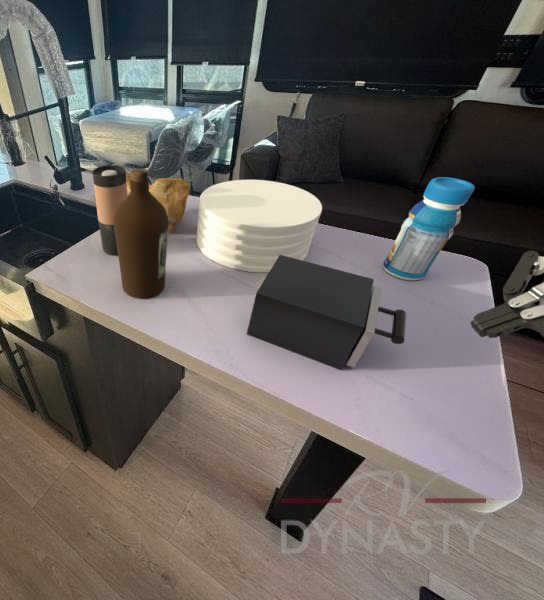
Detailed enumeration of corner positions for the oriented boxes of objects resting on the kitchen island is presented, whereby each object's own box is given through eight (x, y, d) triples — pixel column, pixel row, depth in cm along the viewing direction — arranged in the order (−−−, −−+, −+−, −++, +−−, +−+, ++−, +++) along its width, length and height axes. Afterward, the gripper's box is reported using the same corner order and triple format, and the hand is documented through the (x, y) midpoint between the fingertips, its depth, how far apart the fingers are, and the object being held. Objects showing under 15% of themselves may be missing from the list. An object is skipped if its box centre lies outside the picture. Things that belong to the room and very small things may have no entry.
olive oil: (115, 299, 69) (102, 181, 54) (124, 271, 78) (115, 161, 62) (165, 302, 68) (167, 182, 52) (169, 273, 76) (171, 162, 60)
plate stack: (332, 263, 77) (350, 217, 70) (220, 280, 73) (227, 234, 66) (272, 213, 99) (281, 175, 91) (183, 225, 95) (185, 185, 87)
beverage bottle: (396, 283, 71) (448, 192, 58) (373, 261, 77) (415, 176, 64) (434, 280, 71) (494, 190, 58) (408, 259, 77) (457, 174, 65)
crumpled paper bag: (208, 224, 96) (214, 171, 88) (176, 243, 85) (179, 185, 77) (146, 208, 108) (146, 160, 100) (111, 223, 97) (108, 170, 89)
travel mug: (136, 245, 87) (132, 168, 74) (120, 259, 82) (112, 178, 69) (113, 238, 90) (105, 163, 77) (96, 251, 85) (84, 173, 72)
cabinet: (352, 320, 62) (373, 279, 56) (340, 370, 54) (364, 327, 47) (269, 294, 69) (279, 254, 63) (246, 334, 60) (256, 292, 54)
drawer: (390, 330, 59) (412, 296, 54) (385, 379, 51) (409, 344, 46) (282, 296, 67) (292, 264, 62) (263, 334, 59) (273, 300, 54)
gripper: (629, 189, 34) (435, 276, 42) (810, 279, 25) (520, 366, 33) (617, 231, 38) (443, 303, 46) (769, 321, 29) (521, 389, 37)
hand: (475, 329), depth 40 cm, fingers closed
